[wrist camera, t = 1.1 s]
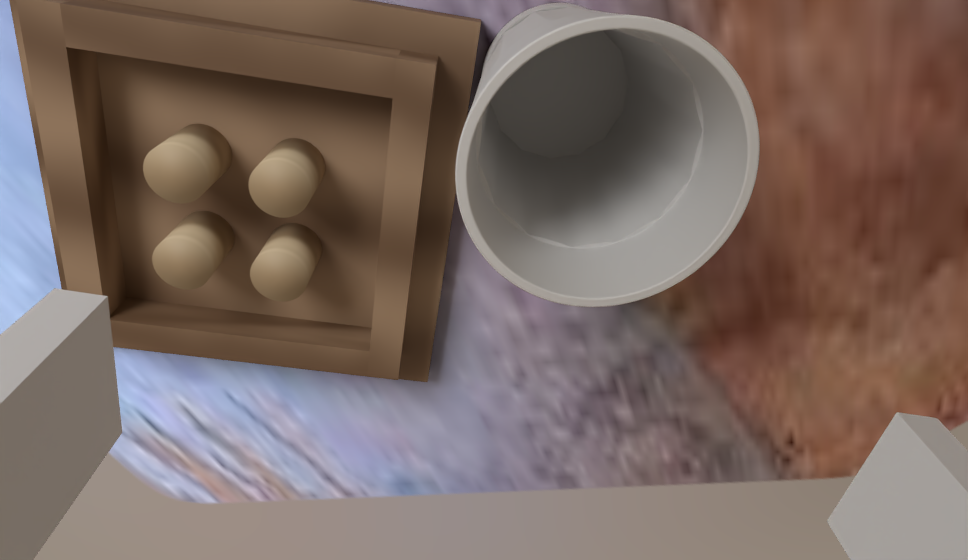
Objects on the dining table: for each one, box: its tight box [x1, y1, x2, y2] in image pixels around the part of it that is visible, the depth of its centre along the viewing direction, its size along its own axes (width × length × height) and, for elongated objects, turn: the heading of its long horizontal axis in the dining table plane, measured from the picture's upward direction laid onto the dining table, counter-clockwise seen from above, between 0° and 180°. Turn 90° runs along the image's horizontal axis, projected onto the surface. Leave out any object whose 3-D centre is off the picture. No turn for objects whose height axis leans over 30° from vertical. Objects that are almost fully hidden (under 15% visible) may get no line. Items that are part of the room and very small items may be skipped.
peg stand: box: [10, 0, 481, 382], centre depth 28 cm, size 18×18×4 cm
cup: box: [455, 3, 760, 307], centre depth 22 cm, size 8×8×12 cm
